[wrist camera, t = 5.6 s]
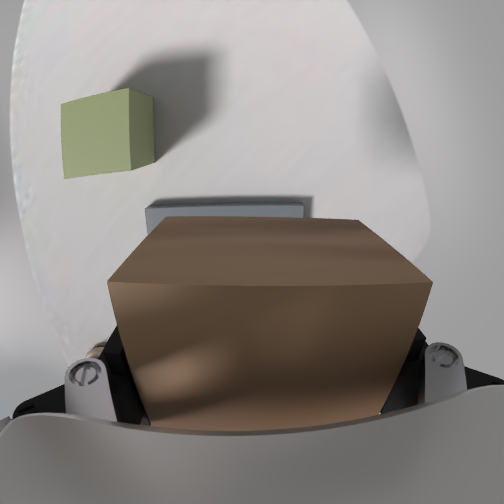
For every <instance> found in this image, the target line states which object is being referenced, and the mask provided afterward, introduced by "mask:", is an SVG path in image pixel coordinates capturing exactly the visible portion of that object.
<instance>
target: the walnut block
mask: <svg viewBox="0 0 504 504" xmlns="http://www.w3.org/2000/svg"><path fill="white" fill-rule="evenodd" d="M107 284H108V289H109V293H110V298H111V302H112V306H113V310H114V314H115V318H116V322H117V326H118V330H119V333H120V337H121V340H122V344H123V347H124V351H125V354H126V357H127V360H128V363H129V366H130V370H131V372H132V375H133V378H134V381H135V384H136V387H137V390H138V392H139V395H140V398H141V400H142V403H143V406H144V408H145V411H146V413H147V416H148V418H149V420H150V423H151V425H152V426H153V427H162V428H172V429H186V430H206V431H255V430H275V429H288V428H299V427H309V426H317V425H324V424H331V423H338V422H344V421H350V420H355V419H361V418H366V417H371V416H375V415H378V414H379V413H380V411H381V409H382V407H383V405H384V403H385V401H386V399H387V397H388V395H389V394H390V392H391V389H392V387H393V385H394V383H395V381H396V379H397V377H398V375H399V373H400V370H401V368H402V366H403V364H404V361H405V359H406V357H407V354H408V352H409V350H410V347H411V345H412V342H413V340H414V337H415V334H416V332H417V329H418V326H419V324H420V321H421V318H422V315H423V312H424V309H425V306H426V303H427V300H428V297H429V294H430V290H431V287H432V284H433V282H432V281H431V280H430V279H429V278H428V277H427V276H426V275H425V274H423V273H422V272H421V271H420V270H419V269H418V268H416V267H415V266H414V265H413V264H412V263H411V262H410V261H408V260H407V259H406V258H405V257H404V256H403V255H401V254H400V253H399V252H398V251H397V250H395V249H394V248H393V247H392V246H390V245H389V244H388V243H387V242H386V241H384V240H383V239H382V238H381V237H379V236H378V235H377V234H376V233H374V232H373V231H372V230H370V229H369V228H368V227H367V226H365V225H364V224H363V223H361V222H360V221H359V220H347V219H323V218H293V217H244V216H166V217H165V218H164V219H163V220H162V221H161V222H160V223H159V224H158V225H157V226H156V227H155V228H154V229H153V230H152V232H151V233H150V234H149V235H148V236H147V237H146V238H145V239H144V240H143V241H142V242H141V243H140V245H139V246H138V247H137V248H136V249H135V250H134V251H133V252H132V253H131V254H130V256H129V257H128V258H127V259H126V260H125V261H124V262H123V264H122V265H121V266H120V267H119V268H118V269H117V270H116V272H115V273H114V274H113V275H112V276H111V277H110V279H109V280H108V281H107Z"/></svg>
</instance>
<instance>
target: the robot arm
mask: <svg viewBox="0 0 504 504" xmlns="http://www.w3.org/2000/svg"><path fill="white" fill-rule="evenodd" d="M425 340H426V337H425V336H424V335H423V333H422V332H421V331H420V329H419V328H418V329H417V332H416V334H415V337H414V340H413V342H412V345H411V347H410V350H409V352H408V354H407V357H406V359H405V361H404V364H403V366H402V368H401V370H400V373H399V375H398V377H397V379H396V381H395V383H394V385H393V387H392V389H391V392H390V394H389V395H388V397H387V399H386V401H385V403H384V405H383V407H382V409H381V411H380V413H381V414H380V415H375V416H371V417H366V418H361V419H355V420H350V421H344V422H338V423H331V424H324V425H317V426H309V427H299V428H288V429H275V430H255V431H206V430H186V429H172V428H162V427H153V426H151V423H150V420H149V418H148V416H147V413H146V411H145V408H144V406H143V403H142V400H141V398H140V395H139V392H138V390H137V387H136V384H135V381H134V378H133V375H132V372H131V370H130V366H129V363H128V360H127V357H126V354H125V351H124V347H123V344H122V340H121V337H120V333H119V330H118V326H116V328H115V330H114V331H113V333H112V335H111V336H110V338H109V340H108V342H107V343H106V345H105V347H104V349H103V350H102V352H101V354H100V356H99V358H98V359H96V358H84V359H81V360H78V361H76V362H74V363H73V364H72V365H71V366H70V367H68V369H67V371H66V373H65V384H64V385H61V386H59V387H57V388H55V389H53V390H50V391H48V392H45V393H43V394H41V395H38V396H36V397H34V398H31V399H29V400H26V401H24V402H23V403H21V404H20V405H19V406H18V407H17V408H16V409H15V411H14V413H13V419H10V417H9V416H8V417H6V418H4V419H2V420H0V504H504V380H502V379H500V378H497V377H494V376H491V375H488V374H485V373H482V372H479V371H476V370H473V369H470V368H468V367H465V366H464V363H463V358H462V355H461V353H460V352H459V351H458V350H457V349H456V348H455V347H453V346H451V345H449V344H446V343H439V342H437V343H432V344H430V345H428V344H427V343H426V342H425ZM144 425H146V426H144Z"/></svg>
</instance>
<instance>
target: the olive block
mask: <svg viewBox="0 0 504 504" xmlns="http://www.w3.org/2000/svg"><path fill="white" fill-rule="evenodd" d="M61 142H62V159H63V171H64V179H68V178H75V177H82V176H89V175H97V174H105V173H113V172H122V171H131V170H134V169H137V168H140V167H143V166H146V165H149V164H152V163H155V145H154V97H151V96H149V95H146V94H144V93H141V92H139V91H136V90H133V89H131V88H126V89H120V90H115V91H110V92H106V93H101V94H97V95H93V96H89V97H85V98H81V99H77V100H74V101H70V102H67V103H63V104H61Z"/></svg>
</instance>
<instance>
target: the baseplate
mask: <svg viewBox="0 0 504 504" xmlns="http://www.w3.org/2000/svg"><path fill="white" fill-rule="evenodd" d="M145 215H146V224H147V232H148V235H149V234H150V233H151V232H152V230H153V229H154V228H155V227H156V226H157V225H158V224H159V223H160V222H161V221H162V220H163V219H164V218H165V217H166V216H244V217H293V218H303V215H304V205H303V204H302V203H218V204H186V205H163V206H148V207H147V208H145Z"/></svg>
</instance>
